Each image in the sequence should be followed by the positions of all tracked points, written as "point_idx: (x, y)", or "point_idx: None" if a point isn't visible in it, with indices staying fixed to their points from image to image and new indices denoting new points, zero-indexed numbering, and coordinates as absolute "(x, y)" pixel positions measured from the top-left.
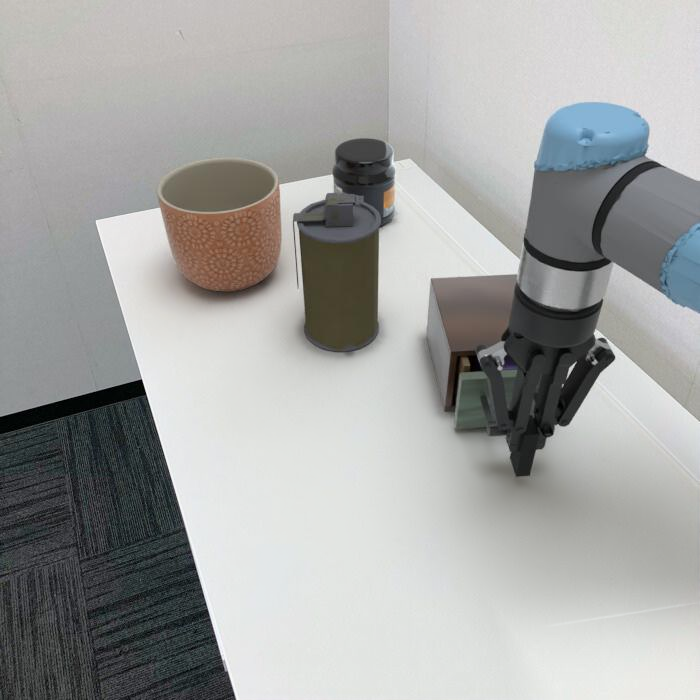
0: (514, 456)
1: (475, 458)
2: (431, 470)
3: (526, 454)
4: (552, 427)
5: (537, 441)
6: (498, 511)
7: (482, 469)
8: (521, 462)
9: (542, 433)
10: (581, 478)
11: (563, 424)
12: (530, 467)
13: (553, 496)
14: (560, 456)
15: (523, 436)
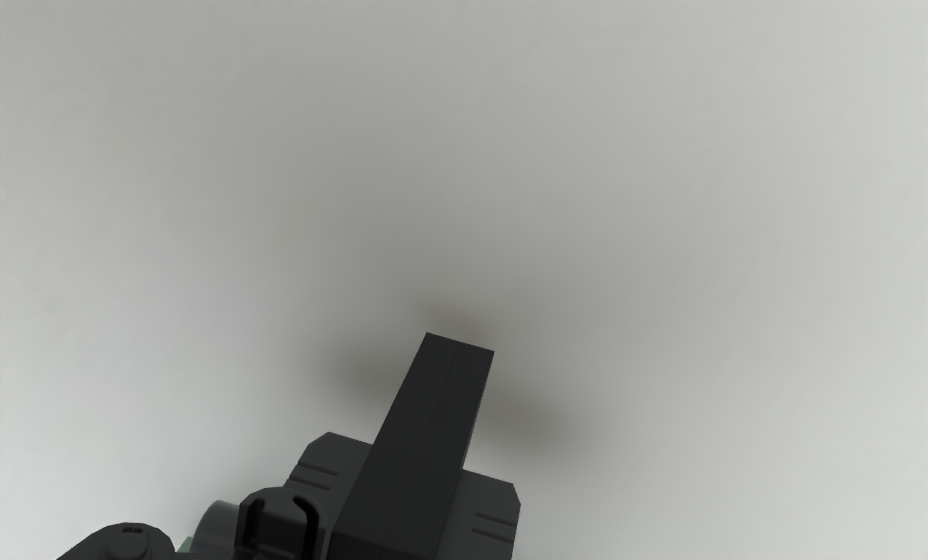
0: (466, 450)
1: (585, 506)
2: (813, 525)
3: (433, 434)
4: (209, 531)
5: (355, 486)
6: (640, 226)
7: (586, 447)
8: (465, 403)
9: (320, 532)
10: (184, 252)
11: (141, 542)
12: (418, 364)
13: (349, 211)
14: (223, 383)
15: (435, 552)
